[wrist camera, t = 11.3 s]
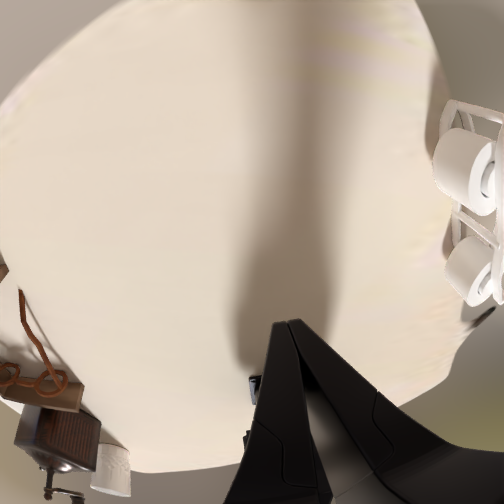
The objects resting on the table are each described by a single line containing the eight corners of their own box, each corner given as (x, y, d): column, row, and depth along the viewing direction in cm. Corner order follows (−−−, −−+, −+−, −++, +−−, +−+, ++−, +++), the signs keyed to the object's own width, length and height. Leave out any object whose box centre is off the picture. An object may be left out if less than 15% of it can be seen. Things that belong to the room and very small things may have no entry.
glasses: (4, 360, 26) (-7, 387, 21) (-42, 286, 19) (-62, 313, 15) (73, 370, 27) (64, 404, 23) (24, 285, 20) (2, 320, 16)
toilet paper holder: (406, 117, 17) (479, 141, 11) (485, 84, 15) (547, 101, 9) (436, 291, 27) (472, 335, 21) (497, 246, 25) (534, 279, 19)
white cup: (109, 440, 38) (105, 487, 30) (140, 454, 42) (139, 497, 34) (87, 442, 39) (82, 485, 31) (116, 456, 43) (114, 495, 35)
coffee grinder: (22, 397, 30) (1, 487, 15) (51, 388, 28) (28, 501, 13) (89, 438, 38) (82, 519, 23) (126, 434, 36) (122, 529, 21)
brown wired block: (84, 386, 28) (78, 412, 25) (11, 378, 27) (3, 398, 24) (5, 264, 18) (-16, 291, 15) (-58, 276, 17) (-74, 297, 14)
